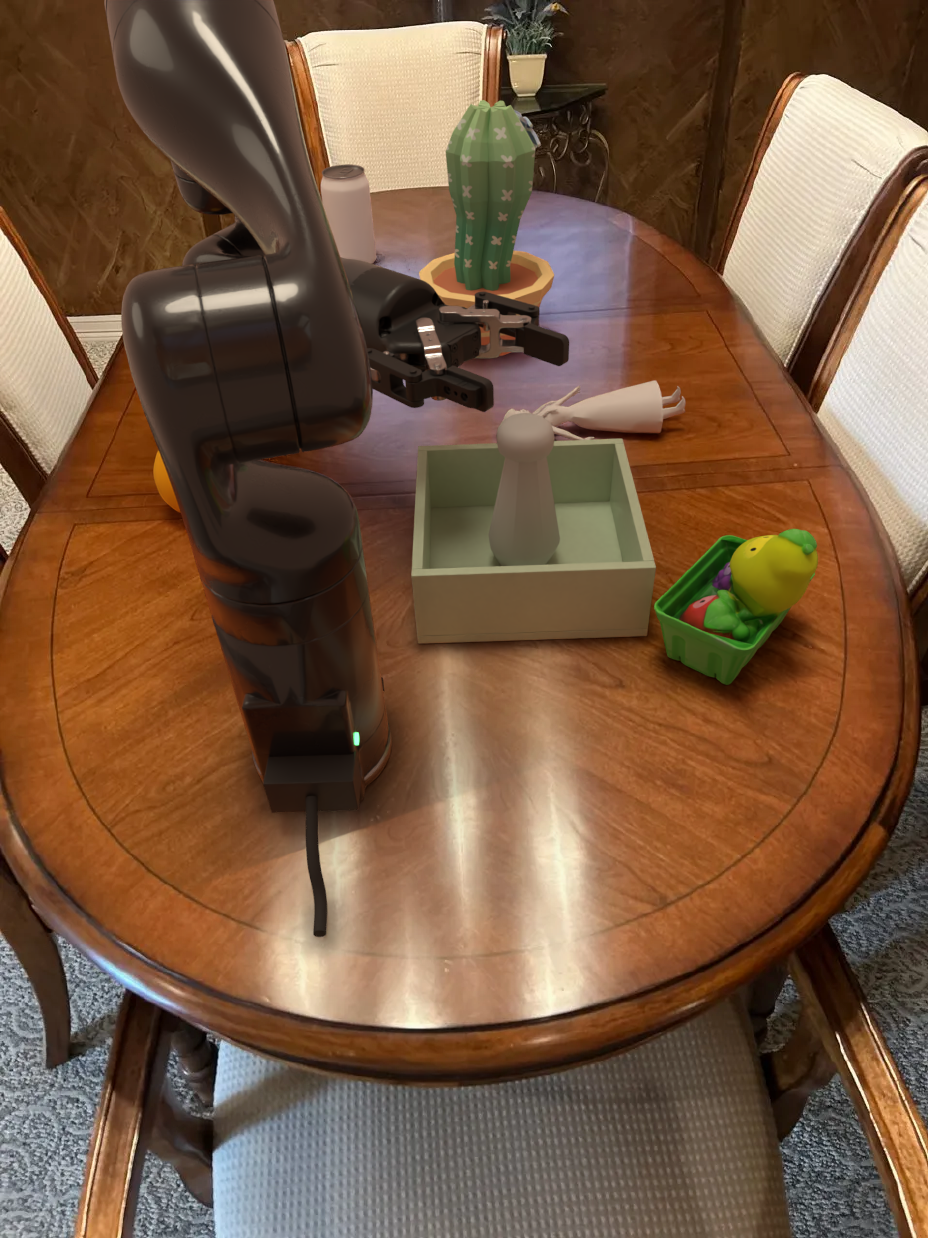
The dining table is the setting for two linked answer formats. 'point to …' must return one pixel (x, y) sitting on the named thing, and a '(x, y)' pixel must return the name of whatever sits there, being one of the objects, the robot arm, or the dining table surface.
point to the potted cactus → (490, 212)
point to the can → (349, 211)
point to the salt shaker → (524, 494)
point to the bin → (530, 594)
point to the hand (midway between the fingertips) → (529, 373)
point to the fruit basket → (735, 600)
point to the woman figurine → (613, 410)
